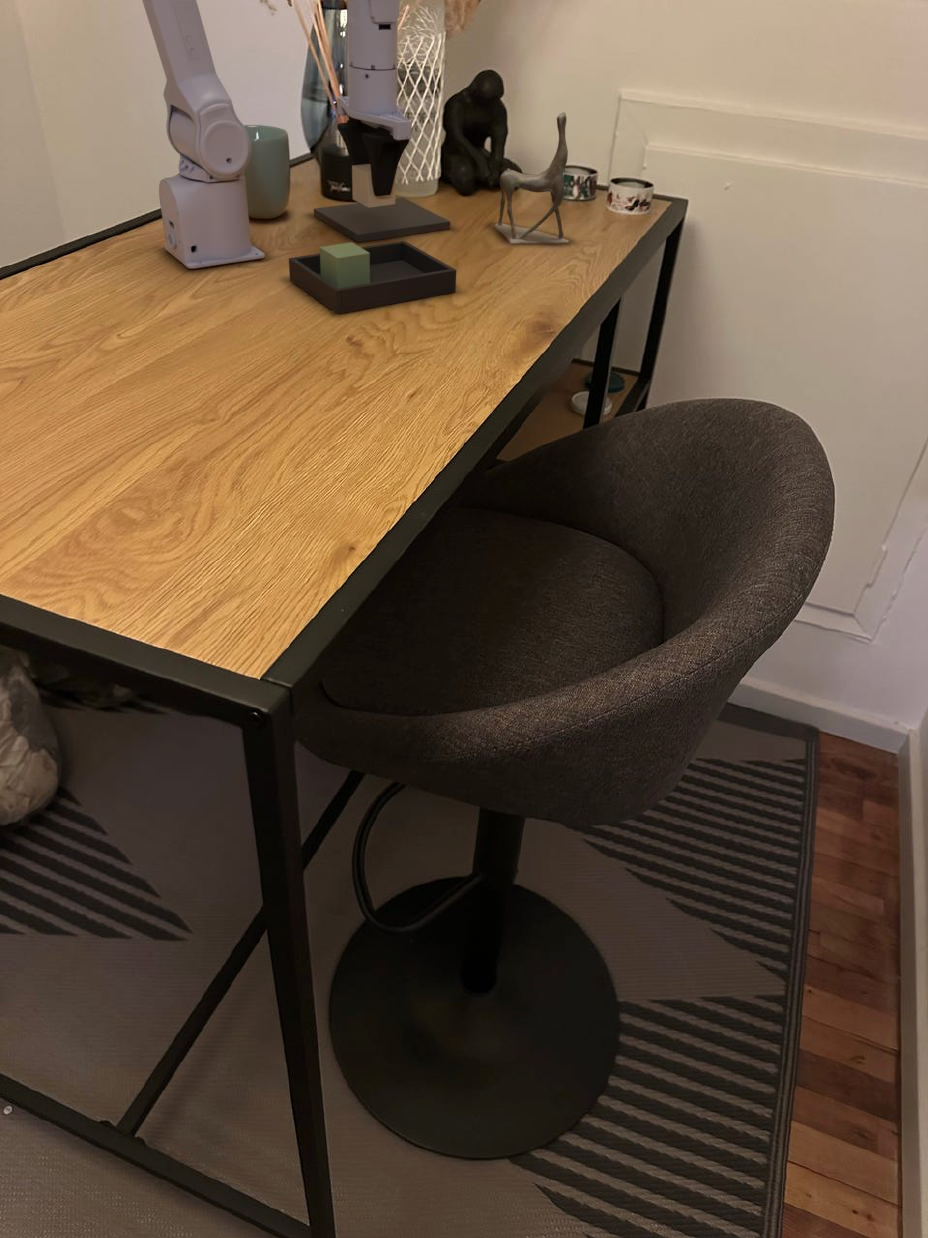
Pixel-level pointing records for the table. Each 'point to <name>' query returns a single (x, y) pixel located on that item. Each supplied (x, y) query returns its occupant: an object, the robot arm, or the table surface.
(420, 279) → the tray
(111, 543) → the table surface
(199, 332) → the table surface
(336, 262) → the sage block
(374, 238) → the board
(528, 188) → the figurine
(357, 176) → the cream block
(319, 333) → the table surface
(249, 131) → the cup
